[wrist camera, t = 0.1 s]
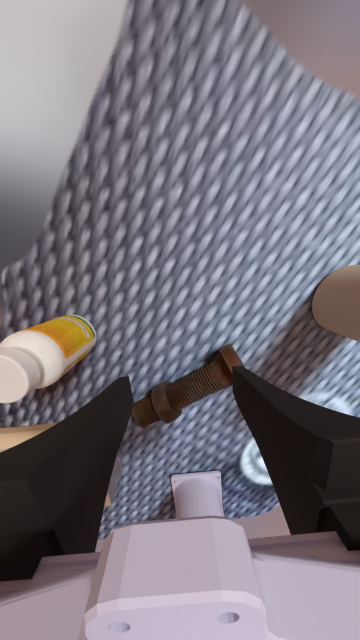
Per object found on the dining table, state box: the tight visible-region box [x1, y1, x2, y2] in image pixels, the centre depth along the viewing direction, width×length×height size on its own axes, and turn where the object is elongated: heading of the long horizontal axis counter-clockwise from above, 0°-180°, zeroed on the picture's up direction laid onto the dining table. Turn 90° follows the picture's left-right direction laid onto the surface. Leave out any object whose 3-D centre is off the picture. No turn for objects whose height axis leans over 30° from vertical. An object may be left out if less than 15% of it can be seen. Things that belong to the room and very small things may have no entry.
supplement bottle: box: [0, 315, 97, 403], centre depth 17 cm, size 5×5×10 cm
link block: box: [104, 449, 123, 506], centre depth 24 cm, size 4×4×5 cm
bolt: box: [132, 344, 245, 428], centre depth 21 cm, size 6×5×15 cm
